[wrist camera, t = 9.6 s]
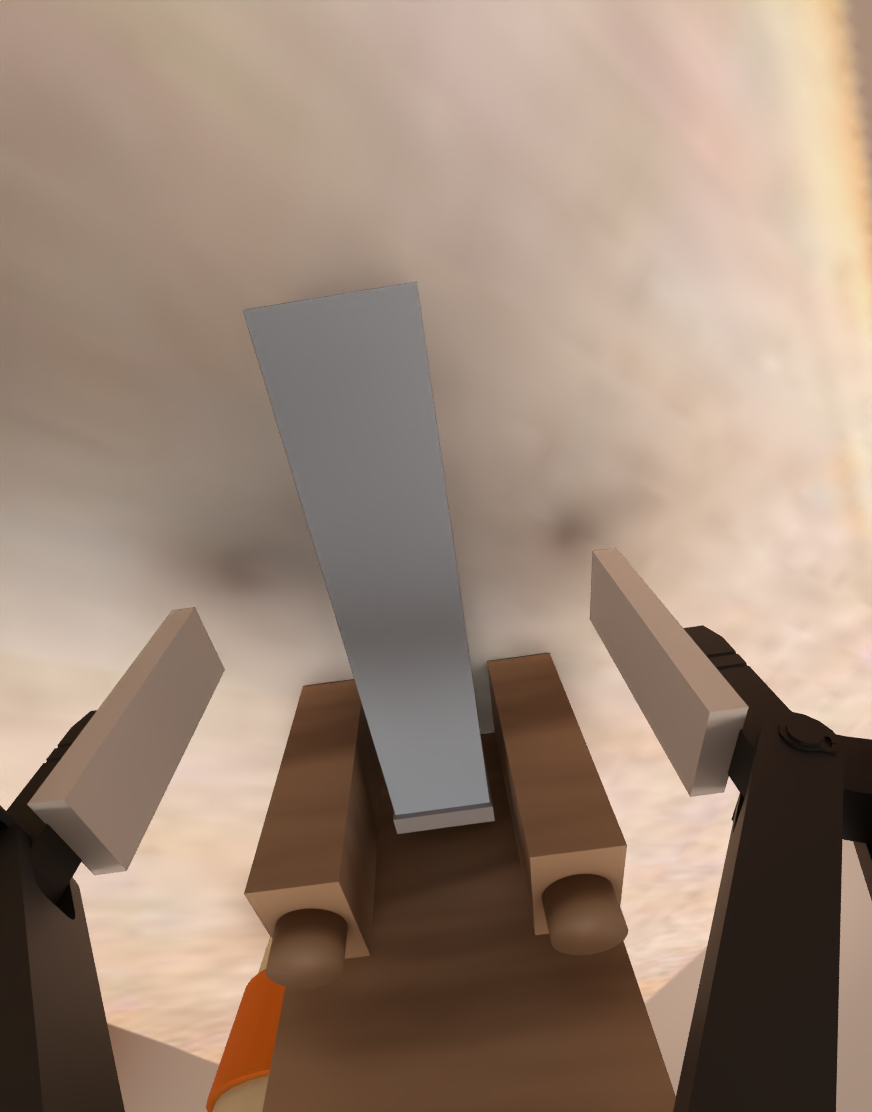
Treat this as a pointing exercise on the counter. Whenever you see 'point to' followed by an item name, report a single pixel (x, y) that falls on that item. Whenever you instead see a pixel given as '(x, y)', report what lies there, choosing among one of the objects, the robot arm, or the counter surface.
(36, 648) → the counter surface
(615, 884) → the wooden bracket with knobs
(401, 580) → the rail
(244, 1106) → the reusable coffee cup
